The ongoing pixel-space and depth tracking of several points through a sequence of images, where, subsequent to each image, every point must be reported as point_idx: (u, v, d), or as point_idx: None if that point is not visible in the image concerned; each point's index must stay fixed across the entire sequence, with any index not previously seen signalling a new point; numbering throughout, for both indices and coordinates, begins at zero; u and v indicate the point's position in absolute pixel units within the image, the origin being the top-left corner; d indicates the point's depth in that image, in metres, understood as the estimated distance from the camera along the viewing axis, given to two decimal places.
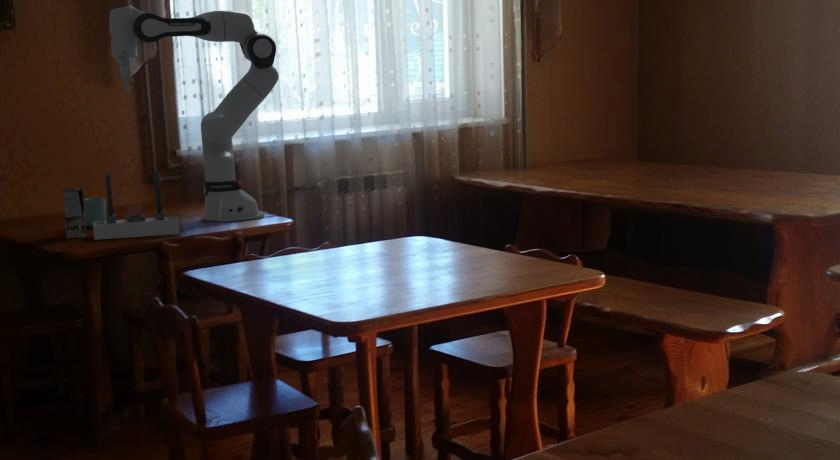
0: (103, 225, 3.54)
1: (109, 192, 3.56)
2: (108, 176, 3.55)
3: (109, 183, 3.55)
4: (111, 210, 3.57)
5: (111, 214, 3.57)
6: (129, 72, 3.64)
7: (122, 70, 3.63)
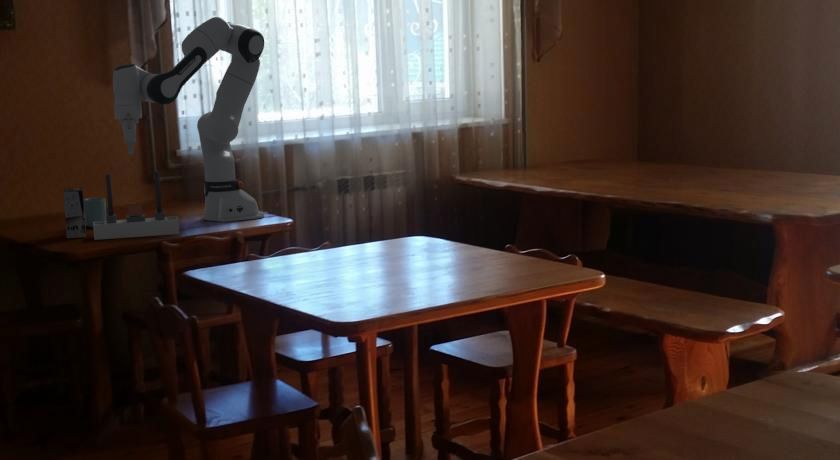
0: (103, 225, 3.54)
1: (109, 192, 3.56)
2: (108, 176, 3.55)
3: (109, 183, 3.55)
4: (111, 210, 3.57)
5: (111, 214, 3.57)
6: (133, 136, 3.46)
7: (126, 134, 3.45)
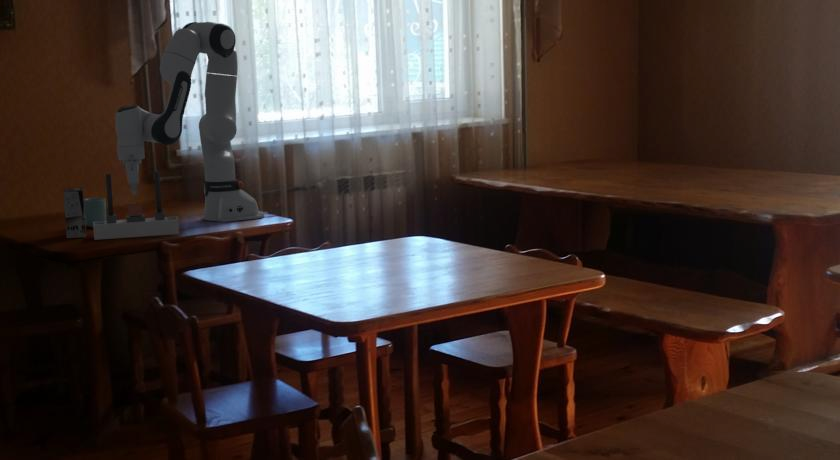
0: (103, 225, 3.54)
1: (109, 192, 3.56)
2: (108, 176, 3.55)
3: (109, 183, 3.55)
4: (111, 210, 3.57)
5: (111, 214, 3.57)
6: (136, 177, 3.48)
7: (129, 175, 3.47)
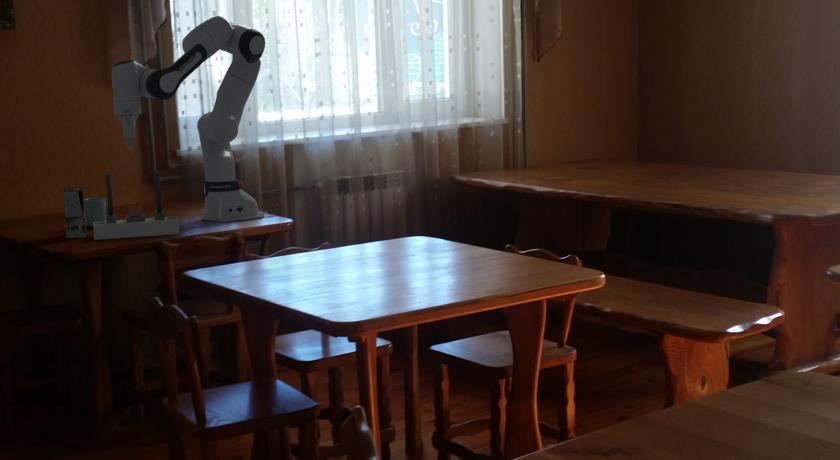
0: (103, 225, 3.54)
1: (109, 192, 3.56)
2: (108, 176, 3.55)
3: (109, 183, 3.55)
4: (111, 210, 3.57)
5: (111, 214, 3.57)
6: (133, 131, 3.45)
7: (125, 130, 3.45)
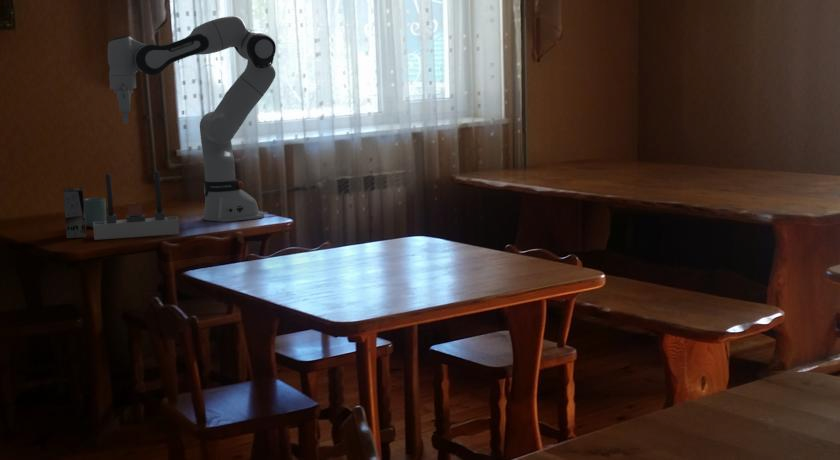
0: (103, 225, 3.54)
1: (109, 192, 3.56)
2: (108, 176, 3.55)
3: (109, 183, 3.55)
4: (111, 210, 3.57)
5: (111, 214, 3.57)
6: (127, 105, 3.58)
7: (120, 103, 3.57)
